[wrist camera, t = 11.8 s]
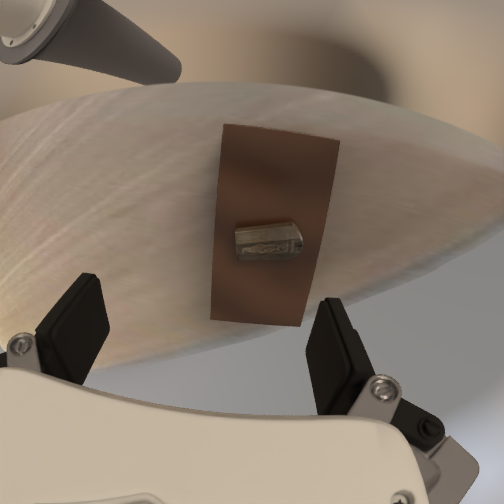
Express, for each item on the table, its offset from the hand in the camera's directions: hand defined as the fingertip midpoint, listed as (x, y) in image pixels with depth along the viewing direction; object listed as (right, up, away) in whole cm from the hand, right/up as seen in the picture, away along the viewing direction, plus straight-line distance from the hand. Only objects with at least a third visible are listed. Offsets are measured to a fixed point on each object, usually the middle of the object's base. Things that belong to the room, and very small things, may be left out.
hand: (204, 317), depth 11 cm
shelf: (+3, +8, +24) cm, 25 cm away
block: (+3, +4, +15) cm, 16 cm away
